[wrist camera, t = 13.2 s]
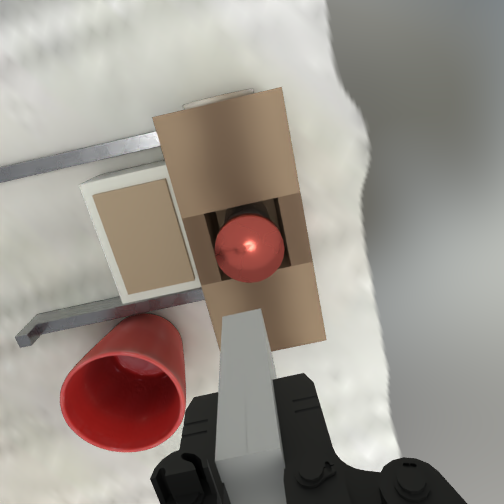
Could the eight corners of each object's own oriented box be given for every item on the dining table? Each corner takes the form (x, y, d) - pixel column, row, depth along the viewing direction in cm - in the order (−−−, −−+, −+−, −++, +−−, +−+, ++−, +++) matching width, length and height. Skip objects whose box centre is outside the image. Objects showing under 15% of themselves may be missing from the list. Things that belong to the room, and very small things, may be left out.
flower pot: (77, 321, 42) (32, 380, 33) (170, 284, 41) (151, 335, 32) (125, 396, 45) (96, 468, 36) (212, 364, 44) (205, 430, 35)
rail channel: (41, 324, 42) (20, 347, 38) (-29, 174, 36) (-63, 182, 32) (224, 284, 41) (223, 304, 37) (182, 125, 35) (175, 127, 31)
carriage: (136, 281, 40) (120, 307, 35) (98, 175, 36) (75, 186, 31) (212, 264, 40) (208, 288, 35) (182, 155, 36) (173, 163, 31)
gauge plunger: (227, 248, 33) (223, 288, 26) (214, 198, 32) (207, 225, 24) (278, 236, 33) (290, 274, 25) (267, 186, 32) (277, 210, 24)
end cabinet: (227, 292, 41) (223, 361, 30) (178, 110, 35) (150, 110, 24) (302, 276, 41) (326, 340, 30) (266, 89, 35) (280, 79, 23)
